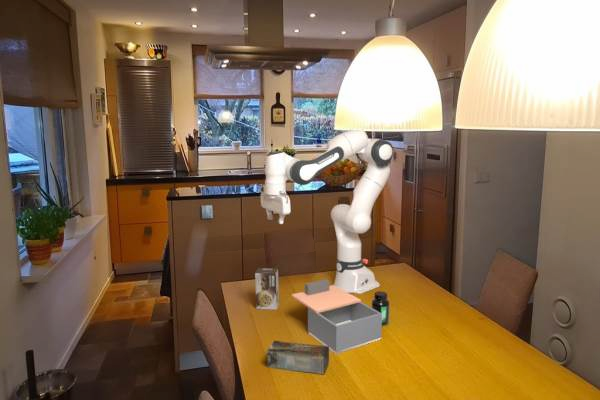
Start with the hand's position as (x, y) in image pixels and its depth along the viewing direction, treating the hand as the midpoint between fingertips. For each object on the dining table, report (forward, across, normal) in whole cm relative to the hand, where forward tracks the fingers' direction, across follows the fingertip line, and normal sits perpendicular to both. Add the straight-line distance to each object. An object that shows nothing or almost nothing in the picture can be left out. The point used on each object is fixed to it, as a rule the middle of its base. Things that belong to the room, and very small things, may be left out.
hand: (275, 221), depth 192 cm
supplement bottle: (+35, -42, -24) cm, 60 cm away
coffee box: (+35, -6, +7) cm, 37 cm away
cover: (+25, -32, -5) cm, 41 cm away
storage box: (+35, -44, -5) cm, 56 cm away
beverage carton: (+36, -52, +20) cm, 66 cm away
